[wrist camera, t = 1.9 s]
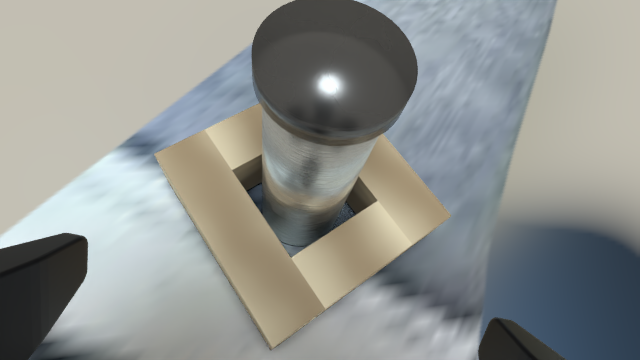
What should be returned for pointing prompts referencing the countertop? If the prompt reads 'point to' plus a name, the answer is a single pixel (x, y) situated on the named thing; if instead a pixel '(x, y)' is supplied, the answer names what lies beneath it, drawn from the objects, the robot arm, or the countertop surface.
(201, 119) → the countertop surface
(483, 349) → the robot arm
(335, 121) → the capped cylinder
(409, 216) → the housing
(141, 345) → the countertop surface
